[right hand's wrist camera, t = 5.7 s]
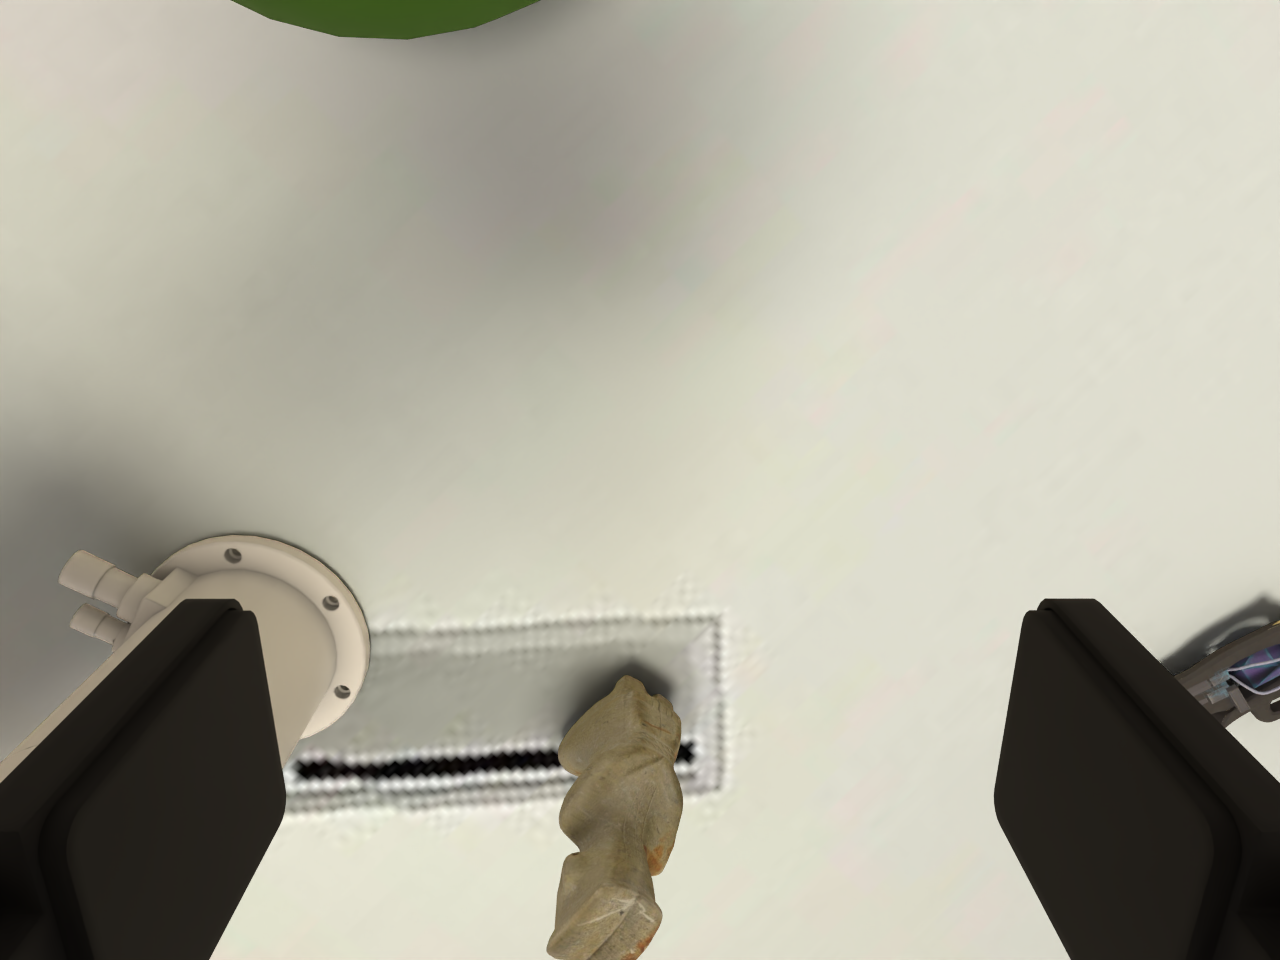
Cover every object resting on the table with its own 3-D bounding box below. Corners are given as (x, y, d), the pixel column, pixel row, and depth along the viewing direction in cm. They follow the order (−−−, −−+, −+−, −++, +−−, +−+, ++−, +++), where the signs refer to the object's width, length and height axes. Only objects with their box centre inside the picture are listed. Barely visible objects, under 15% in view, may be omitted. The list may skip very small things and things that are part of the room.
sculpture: (541, 730, 52) (505, 948, 38) (622, 646, 50) (615, 843, 36) (620, 784, 53) (612, 1013, 39) (701, 704, 52) (724, 916, 37)
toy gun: (1460, 700, 49) (1409, 577, 45) (1124, 850, 54) (1052, 751, 50) (1421, 667, 51) (1369, 547, 47) (1103, 813, 56) (1033, 717, 52)
